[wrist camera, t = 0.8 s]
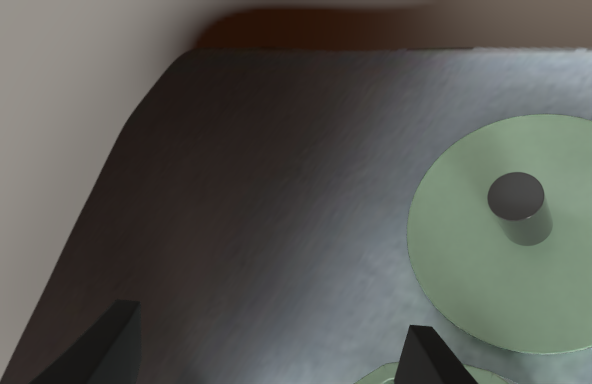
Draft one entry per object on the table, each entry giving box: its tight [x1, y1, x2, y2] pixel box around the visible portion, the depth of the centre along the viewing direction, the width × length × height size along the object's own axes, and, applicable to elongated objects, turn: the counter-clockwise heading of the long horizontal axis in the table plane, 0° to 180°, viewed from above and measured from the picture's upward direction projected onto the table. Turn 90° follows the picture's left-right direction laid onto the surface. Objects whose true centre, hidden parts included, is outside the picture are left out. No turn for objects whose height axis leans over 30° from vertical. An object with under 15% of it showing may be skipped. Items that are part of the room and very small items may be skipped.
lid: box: [407, 114, 592, 355], centre depth 25 cm, size 13×13×5 cm
